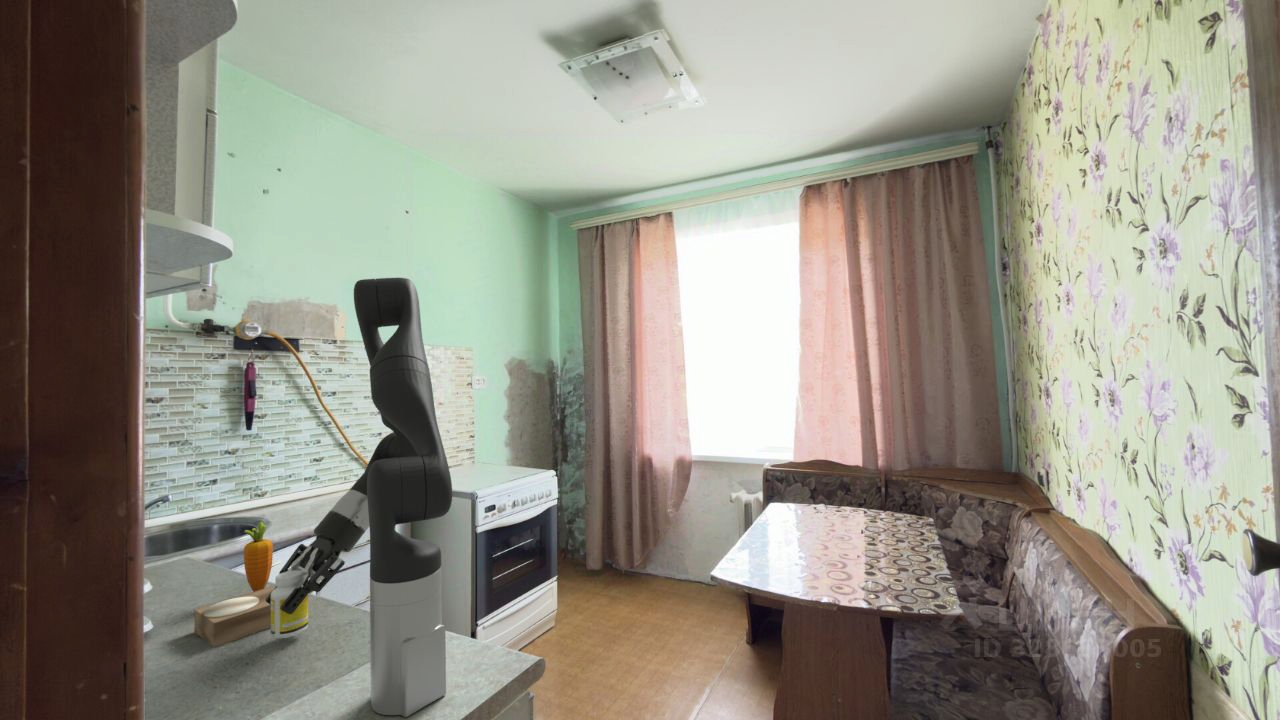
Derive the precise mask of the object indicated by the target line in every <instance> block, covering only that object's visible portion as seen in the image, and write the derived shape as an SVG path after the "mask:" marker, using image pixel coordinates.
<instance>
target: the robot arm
mask: <svg viewBox="0 0 1280 720" xmlns="http://www.w3.org/2000/svg"><path fill="white" fill-rule="evenodd" d="M353 287H354V288H353V304H354V310H355V316H356V318H357V323H358V327H359V330H360V336H361V337H362V342H363V345H364V349H365V353H366V356H367V360H368V362H369V365H370V366H369V382H370V394H371V399H372V403H373V405H374V406H375V408H376V409H377V410H378V412H379V413H380V419H381V422H382V424H383V425H384V427H387V429H390V430H391V431H392V432H391V433H389V434H387V435H386V436H384V437H382V439H381V440H380V441H379V443H378V444H377V445H376V448H375V450H374V452H373V454H372V455H371V457H370V459H369V462H368V464H367V466H366V469H364V472H363V474H362V475H361V476H360V477H359V478H358V479H357V480H356V482H355V483H354V484H353V485H352V486H351V487H350V488H349V490H348V491H347V492H346V493H345V494H344V495H342V496H341V497H340V499H338V501H337V502H336V503H335V504H334V506H333V507H332V508H331V509H330V510H329V511H328V512H327V514H326V515H325V516H324V517H323V518H322V519H321V521H320V522H319V523H318V525H316V526H315V528H314V529H313V534H314V535H315V536H316V539H315V540H314V541H312V542H311V543H310V544H309V545H305V544H304V543H300V544H299V545H298V546H297V548H295V550H294V552H293V553H292V555H291V556H290V557H289V559H287V561H286V563H284V565H283V567H282V568H281V569H280V571H279V572H278V575H279V574H281V573H284V572H288V571H294V570H301V571H303V578H302V579H301V581H300V583H299V585H298V587H299V588H297V587H296V588H295V589H294V590H293V592H292V593H291V594H290V595H289V597H288V598H287V599H286V600H285V602H284V603H283V604H282V605H281V607H280V609H281V610H282V611H284V612H286V613H288V614H292V613H293V612H294V611H295V610H296V609H297V607H298V606H299V605H300V603H301V602H302V601H303V600H304V598H305V597H306V596H307V595H308V596H309V595H310V594H312V593H313V592H316V593H319V592H321V590H323V588H324V587H326V585H327V584H328V583H329V582H330V581H331V580H332V578H334V577H335V575H336V574H337V573H338V572H339V571H340V570H341V568H343V566H344V565H346V564H345V563H346V562H345V560H343V559H342V558H340V556H341V553H342V552H343V553H349V552H351V551H352V550H353V548H354V547H355V546H356V545H357V543H358V542H359V540H360V539H361V538H362V537H363V535H364V534H365V533H366V532H367V530H368V529H369V546H370V547H369V551H370V552H369V631H370V632H369V635H370V636H369V637H370V638H369V642H370V643H369V645H370V647H369V649H370V657H369V658H370V668H369V669H370V706H371V710H373V712H375V713H377V714H379V715H383V716H385V715H386V716H402V717H404V718H407V717H409V716H411V715H412V714H414V713H416V712H418V711H420V710H421V709H422V708H425V707H426V706H428V705H430V704H431V703H433V702H435V701H436V700H438V699H440V698H442V697H444V696H445V695H446V694H447V661H446V660H447V652H446V651H447V648H446V647H447V645H446V626H445V625H444V624H443V610H442V609H443V608H442V606H443V604H442V601H443V600H442V598H443V597H442V595H443V594H442V590H443V589H442V586H443V585H442V583H443V582H442V550H441V548H440V547H439V545H437V544H436V543H435V542H432V541H429V540H428V541H427V540H424V539H423V540H422V539H416V538H412V537H408V536H405V535H403V534H401V533H399V532H397V531H396V529H395V528H396V526H397V525H403V524H409V523H414V522H415V523H416V522H422V521H428V520H432V519H433V520H435V519H437V518H441V517H444V516H445V515H446V514H448V512H450V509H451V507H452V502H453V484H452V477H451V471H450V468H449V464H448V459H447V457H446V455H447V454H446V453H445V449H444V444H443V441H442V437H441V434H440V430H439V429H440V428H439V425H438V422H437V415H436V409H435V400H434V393H433V385H432V379H431V372H430V368H429V363H428V359H427V355H426V351H425V345H424V340H423V339H424V338H423V333H422V321H421V319H422V318H421V309H420V298H419V294H418V290H417V288H416V285H415V283H414V282H413V281H412V280H410V278H406V277H385V278H384V277H380V278H364V279H359V280H357V281H356V282H355V284H354V286H353ZM393 326H394V327H395V326H398V327H397V329H396V330H395V331H394V332H393V334H392V335H391V336H390V337H389V338H388V340H386V341H385V343H384V342H383V339H382V338H381V335H380V331H379V328H383V327H393ZM276 588H277V586H276V587H275V588H274V589H276ZM271 593H272V592H271ZM271 593H270V594H269V596H268V597H267V598H266V600H265V601H266V602H267V603H269V604H271Z"/></svg>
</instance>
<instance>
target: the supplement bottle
mask: <svg viewBox="0 0 1280 720" xmlns="http://www.w3.org/2000/svg"><path fill="white" fill-rule="evenodd" d="M302 578H303V571H301V570H294V571H288V572H284V573H281V574H279V573H278V574H277V575H275V580H274V582H275V585H276V586H277V588H276V589H274V590H273V591H272V593H271V627H270V636H271V637H272V638H274V639H284V638H289V637H293V636H296V635H298V634H301V633H302V632H304V631H305V630H307V628H308V627H309V594H308V595H307V596H306V597H305V598H304V600H303V601H302V602H301V603H300V605H299V606H298V607H297V609H296V610H295V611H294V612H293V613H292V614H288V613H286V612H284V611H282V610H281V609H280V607H281V605H282V604H283V603H284V602H285V600H286V599H287V598H288V597H289V595H290V594H291V593H292V592H293V590H294V589H295V588H296V587H297V588H299V587H298V585H299V583H300V581H301V579H302Z"/></svg>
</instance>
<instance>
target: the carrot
mask: <svg viewBox="0 0 1280 720" xmlns="http://www.w3.org/2000/svg"><path fill="white" fill-rule="evenodd" d="M267 528H268V527H267V526H266V525H265V524H264V522H262V521H259V522H258V523H257V528H255V527H253V528H252V529H251V530H248V529H245V530H244V532H243V533H245V534H247V535H248V536H250V537H251V538H252V541H250V542H248V543H247V544H245V545H244V547H243V562H244V563H243V564H244V565H243V566H244V571H245V576H246V580H247V582H248V585H249V587H250V589H251V590H252V592H255V591H258V590H261V589H265V588H266V586H267V584H268V581H269V579H270V575H271V571H272V566H273V554H274V544H273V541H271V540H269V539H265V538H264V534H265V532H266V530H267ZM257 529H258V530H257Z"/></svg>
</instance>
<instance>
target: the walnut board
mask: <svg viewBox="0 0 1280 720" xmlns="http://www.w3.org/2000/svg"><path fill="white" fill-rule="evenodd" d="M275 587H276V584H275V585H271V586H269V587H265V588H264V589H261V590H258V591H255V592H253V591H252V592H248V593H246V594H243V595H242V594H241V595H237V596H235V597H232V598H229V599H226V600H225V599H224V600H221V601H218V602H214V603H212V604H209V605H206V606H202V607H198V608H195V609H194V620H193V621H194V626H193V627H194V633H195V634H196V635H197V636H199V637H200V638H202V639H203V640H204V641H206V642H207V643H208V644H209V645H211V646H212V647H213V648H217V647H219V646H222V645H225V644H228V643H230V642H233V641H235V640H239V639H242V638H245V637H247V636H251V635H252V634H255V633H258V632H261V631H265V630H267V629H271V604H269V603H267V602H266V601H265V600H266V598H267V597H268V596H269V594H270V593H271V592H272V591H273V590H274V588H275Z"/></svg>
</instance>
